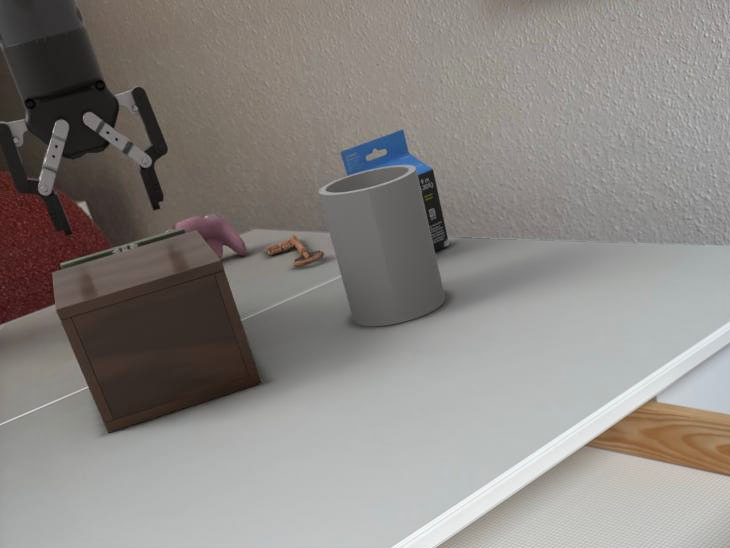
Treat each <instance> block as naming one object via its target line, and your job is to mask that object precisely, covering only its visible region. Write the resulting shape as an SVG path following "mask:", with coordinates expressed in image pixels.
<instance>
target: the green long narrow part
mask: <svg viewBox="0 0 730 548" xmlns="http://www.w3.org/2000/svg"><path fill="white" fill-rule="evenodd" d="M165 232H166V231H165ZM165 232H163V233H158V234H156V235H152V236H148V237H146V238H141V239H139V240H135V241H132V242H129V243H126V244H122V245H118V246H114V247H111V248H108V249H103V250H101V251H98V252H97V251H96V252H93V253H90V254H87V255H84V256H81V257H77V258H74V259H71V260H67V261H63V262H60V268H61V270H62V269H66V268H69V267H72V266H76V265H79V264H83V263H86V262H89V261H93V260H96V259H100V258H103V257H106V256H110V255H113V251H114V250H115V249H119V250H120V252H122V251H123V250H122V247H123V246H127V249H128V250H129V249H131V248H130V245H132V244H135V245H138V247H140V246H144V245H147V244H150V243H154V242H157V241H161V240H164V239H167V238H171V237H174V236H178V235H181V234H184V233H186V232H185V230H184V228H179V229H176V230H172V231H169V232H166V233H165Z"/></svg>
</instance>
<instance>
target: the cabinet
mask: <svg viewBox="0 0 730 548" xmlns="http://www.w3.org/2000/svg"><path fill="white" fill-rule="evenodd" d="M51 275H52V284H53V296H54V306H55V312H56V315H57V316H58V319H59V320H60V324H61V327H62V328H63V331H64V333H65V336H66V338H67V340H68V342H69V345H70V347H71V349H72V352H73V354H74V356H75V360H76V361H77V364H78V366H79V368H80V371H81V373H82V376H83V378H84V380H85V383H86V385H87V387H88V389H89V392H90V394H91V396H92V399H93V401H94V404H95V406H96V408H97V410H98V413H99V415H100V418H101V420H102V423H103V426H104V427H105V430H106V432H107V434H110V433H112V432H115V431H119V430H121V429H125V428H128V427H131V426H135V425H137V424H140V423H144V422H147V421H149V420H152V419H156V418H159V417H161V416H164V415H168V414H171V413H174V412H177V411H180V410H183V409H186V408H189V407H192V406H195V405H199V404H202V403H205V402H208V401H211V400H214V399H217V398H220V397H224V396H226V395H230V394H232V393H235V392H238V391H242V390H245V389H247V388H251V387H255V386H258V385H260V384H262V383H263V382H262V380H261V376H260V373H259V371H258V366H257V363H256V361H255V357H254V355H253V353H252V349H251V346H250V343H249V339H248V337H247V334H246V330H245V329H244V325H243V322H242V319H241V316H240V313H239V309H238V307H237V304H236V301H235V297H234V295H233V291H232V289H231V286H230V282H229V279H228V276H227V274H226V271H225V267H224V265H223V262H222V259H221V258H220V259H219V257H218V256H217V255H216V254H215V252H214V251H213V250H212V249H211V247H210V246H209V245H208V244H207V242H206V241H205V240H204V239H203V238H202V236H201V235H200V234H199V233H198V231H197V230H195V231H191V232H188V233H184V234H181V235H178V236H174V237H171V238H167V239H164V240H161V241H157V242H154V243H150V244H147V245H144V246H140V247H137V248H134V249H130V250H127V251H123V252H120V253H117V254H113V255H110V256H106V257H103V258H100V259H96V260H93V261H89V262H86V263H83V264H79V265H76V266H72V267H69V268H66V269H62V268H61V269H59V270H55V271H52V272H51Z"/></svg>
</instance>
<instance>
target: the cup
mask: <svg viewBox="0 0 730 548" xmlns="http://www.w3.org/2000/svg"><path fill="white" fill-rule="evenodd" d="M318 196H319V199H320V203H321V207H322V210H323V214H324V217H325V221H326V225H327V230H328V232H329V236H330V239H331V243H332V248H333V250H334V254H335V258H336V261H337V265H338V269H339V273H340V277H341V280H342V284H343V287H344V290H345V295H346V298H347V302H348V305H349V309H350V313H351V317H352V320H353V322H354V323H355V325H358V326H362V327H384V326H390V325H391V326H392V325H395V324H401V323H405V322H408V321H412V320H414V319H418V318H420V317H423V316H425V315H428V314H430V313H432V312H433V311H435V310H437V309H438V308H440V307H441V306H442V305H443V304H444V302H445V301H446V294H445V291H444V286H443V282H442V277H441V272H440V269H439V264H438V259H437V255H436V251H435V250H434V246H433V241H432V237H431V232H430V228H429V223H428V219H427V214H426V210H425V205H424V201H423V197H422V192H421V188H420V183H419V179H418V174H417V170H416V167H415V166H413V165H395V166H387V167H381V168H376V169H371V170H367V171H363V172H359V173H355V174H352V175H349V176H347V175H346V176H343V177H340V178H338V179H335V180H332V181H331V182H328V183H326V184H325V185H323V186H322V187H320V188H319V189H318Z"/></svg>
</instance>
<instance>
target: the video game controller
mask: <svg viewBox="0 0 730 548" xmlns="http://www.w3.org/2000/svg"><path fill="white" fill-rule="evenodd" d="M179 228H184V230H185V232H186V233H188V232H191V231H195V230H197V231H198V233H199V234H200V235H201V236H202V238H203V239H204V240H205V241H206V242H207V244H208V245H209V246H210V247H211V249H212V250H213V251H214V252H215V254H216V255H217V256H218V257H219V259H220V260H221V258H222V257H223V254H224V246H225V247H228V248H229V249H230V250H232V251H233V252H234V253H236V254H237V255H239V256H243V257H245V256H246V255H247V254H248V253H247V252H248V251H247V250H248V249H247V246H246V242H245V241H244V239H243V237H241V236H240V234H238V232H237V231H236V230H235V229H234V228H233V227H232V225H230V224H229V223H228V222H227V221H226V220H225V219H224V218H222V217H219V216H217V215H216V214H215V213H210V214H208V215H203V216H199V215H195V216H191V217H188V218H186V219H184V220H181V221H178V222H177V223H176V224H174V225H173V226H172V227H170V228H168V229H166V231H165V232H164V233H166V232H169V231H172V230H176V229H179Z"/></svg>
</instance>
